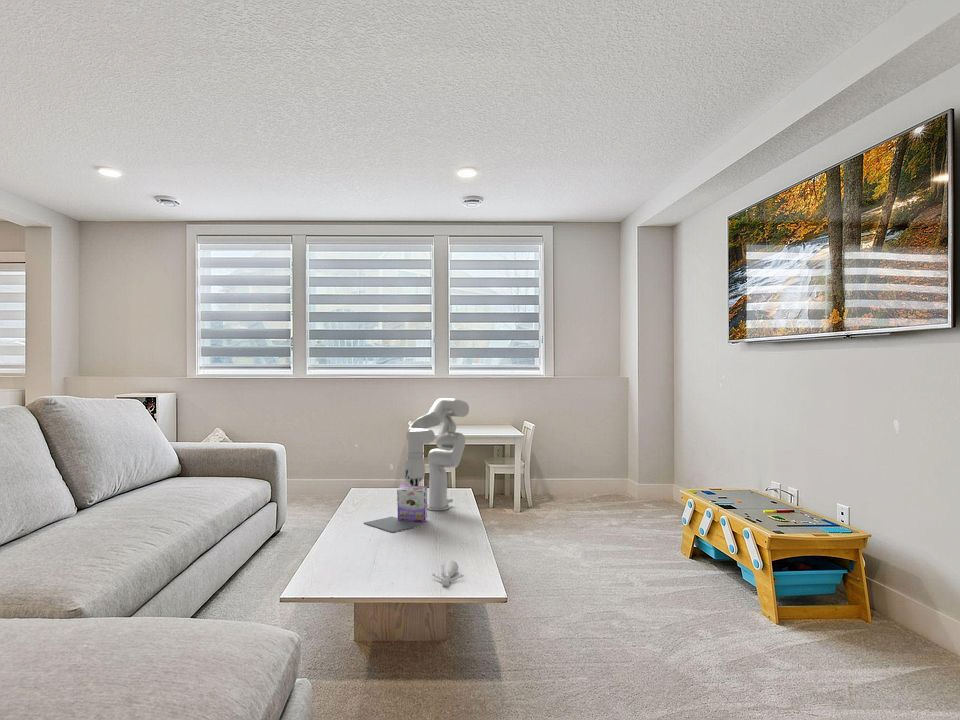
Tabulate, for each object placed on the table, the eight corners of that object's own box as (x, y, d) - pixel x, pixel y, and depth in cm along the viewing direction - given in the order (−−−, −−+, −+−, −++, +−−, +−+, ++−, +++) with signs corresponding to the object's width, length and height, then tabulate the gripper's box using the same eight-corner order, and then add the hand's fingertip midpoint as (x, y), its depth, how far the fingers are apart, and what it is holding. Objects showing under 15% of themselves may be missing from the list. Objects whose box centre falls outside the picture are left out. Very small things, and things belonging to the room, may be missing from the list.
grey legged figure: (466, 558, 218) (462, 578, 200) (466, 570, 218) (462, 591, 201) (435, 557, 219) (428, 577, 201) (435, 568, 219) (428, 590, 201)
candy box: (427, 516, 290) (427, 486, 285) (425, 522, 284) (425, 492, 280) (400, 513, 291) (399, 483, 287) (397, 519, 286) (396, 489, 281)
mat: (391, 517, 293) (391, 516, 293) (420, 526, 278) (420, 525, 278) (363, 523, 280) (363, 522, 280) (392, 533, 265) (392, 531, 265)
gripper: (421, 453, 297) (421, 489, 297) (398, 455, 287) (397, 493, 286) (431, 454, 292) (431, 491, 292) (408, 457, 281) (407, 496, 281)
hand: (414, 492), depth 289 cm, fingers closed
